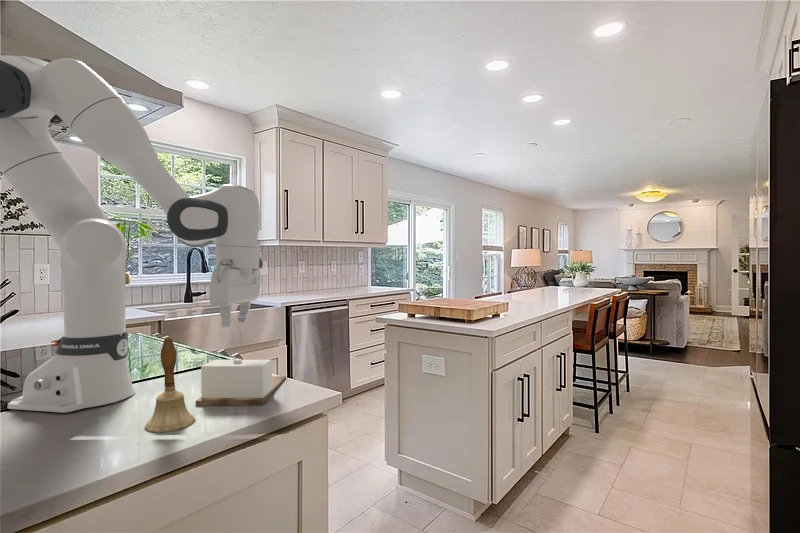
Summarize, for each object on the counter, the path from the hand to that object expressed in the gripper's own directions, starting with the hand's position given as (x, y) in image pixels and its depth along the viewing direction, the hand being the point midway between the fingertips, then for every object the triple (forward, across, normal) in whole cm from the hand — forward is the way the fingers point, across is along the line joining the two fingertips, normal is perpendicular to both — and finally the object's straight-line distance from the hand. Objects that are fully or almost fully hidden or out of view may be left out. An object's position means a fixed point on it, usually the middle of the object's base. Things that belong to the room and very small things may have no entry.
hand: (235, 324), depth 94 cm
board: (+16, +6, -1) cm, 17 cm away
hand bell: (+17, -14, +7) cm, 23 cm away
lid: (+15, 0, -1) cm, 15 cm away
